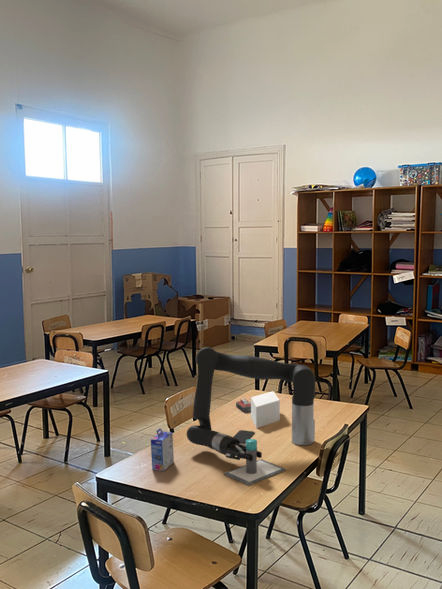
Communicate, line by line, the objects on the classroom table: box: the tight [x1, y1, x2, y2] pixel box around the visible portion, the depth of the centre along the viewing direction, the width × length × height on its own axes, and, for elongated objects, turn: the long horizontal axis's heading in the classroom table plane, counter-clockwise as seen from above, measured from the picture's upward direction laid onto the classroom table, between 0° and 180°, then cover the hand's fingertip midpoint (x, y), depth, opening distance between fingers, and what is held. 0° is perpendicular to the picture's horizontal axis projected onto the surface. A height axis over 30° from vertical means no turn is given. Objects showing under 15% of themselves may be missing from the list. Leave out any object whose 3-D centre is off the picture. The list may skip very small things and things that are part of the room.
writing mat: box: [223, 458, 287, 486], centre depth 219 cm, size 20×13×1 cm, turn 132°
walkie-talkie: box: [235, 398, 251, 414], centre depth 302 cm, size 9×4×20 cm
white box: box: [250, 390, 281, 429], centre depth 282 cm, size 14×29×10 cm, turn 159°
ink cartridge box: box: [150, 428, 175, 472], centre depth 225 cm, size 10×6×14 cm, turn 161°
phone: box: [233, 429, 256, 445], centre depth 257 cm, size 7×1×15 cm
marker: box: [245, 438, 258, 474], centre depth 217 cm, size 4×4×12 cm
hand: (256, 456), depth 215 cm, fingers closed on marker, 4 cm apart
